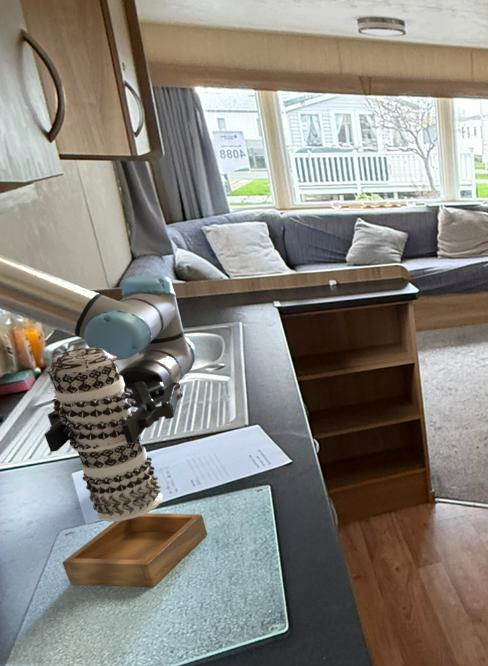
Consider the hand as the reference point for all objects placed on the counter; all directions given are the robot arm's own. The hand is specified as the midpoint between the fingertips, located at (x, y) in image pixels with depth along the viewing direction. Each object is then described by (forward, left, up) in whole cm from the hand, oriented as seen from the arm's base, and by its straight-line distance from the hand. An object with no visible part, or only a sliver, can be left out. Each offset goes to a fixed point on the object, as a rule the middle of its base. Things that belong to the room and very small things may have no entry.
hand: (89, 438), depth 90 cm
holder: (-1, +4, -23) cm, 23 cm away
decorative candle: (-1, +4, -14) cm, 15 cm away
